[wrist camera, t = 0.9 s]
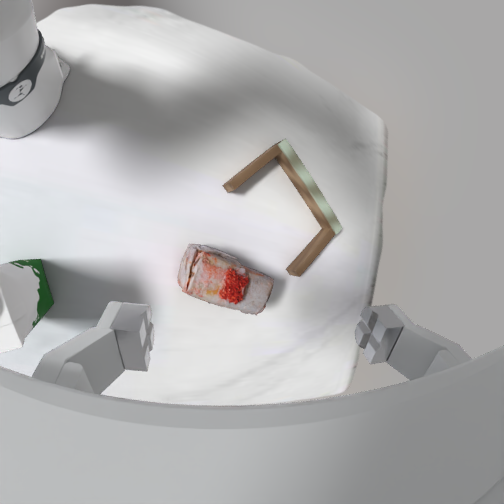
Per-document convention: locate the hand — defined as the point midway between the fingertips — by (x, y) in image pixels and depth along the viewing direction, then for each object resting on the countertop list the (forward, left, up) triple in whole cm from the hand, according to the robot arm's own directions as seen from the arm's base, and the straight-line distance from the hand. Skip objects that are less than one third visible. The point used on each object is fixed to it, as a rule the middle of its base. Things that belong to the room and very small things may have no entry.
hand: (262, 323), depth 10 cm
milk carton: (-10, -18, -35) cm, 41 cm away
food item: (+10, +6, -35) cm, 37 cm away
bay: (+10, +24, -35) cm, 43 cm away
